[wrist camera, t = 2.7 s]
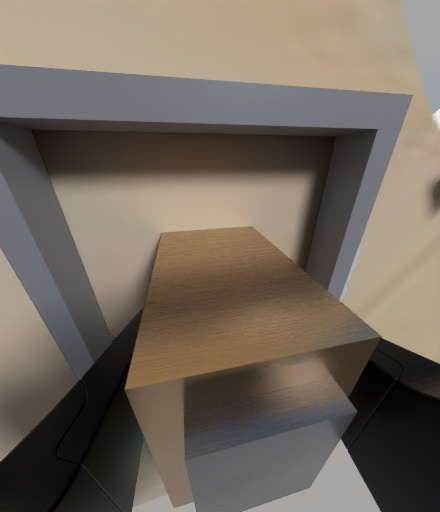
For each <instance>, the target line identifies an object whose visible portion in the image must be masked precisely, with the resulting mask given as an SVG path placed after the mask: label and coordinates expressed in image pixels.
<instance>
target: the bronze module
mask: <svg viewBox="0 0 440 512" xmlns="http://www.w3.org/2000/svg"><path fill="white" fill-rule="evenodd" d="M381 337H382V336H381V335H379V334H378V333H377V332H376V331H375V330H373V329H372V328H371V327H370V326H369V325H368V324H366V323H365V322H364V321H363V320H362V319H360V318H359V317H358V316H357V315H356V314H355V313H353V312H352V311H351V310H350V309H349V308H347V307H346V306H345V305H344V304H343V303H342V302H340V301H339V300H338V299H337V298H336V297H335V296H333V295H332V294H331V293H330V292H329V291H327V290H326V289H325V288H324V287H323V286H322V285H320V284H319V283H318V282H317V281H316V280H314V279H313V278H312V277H311V276H310V275H309V274H307V273H306V272H305V271H304V270H303V269H301V268H300V267H299V266H298V265H297V264H296V263H294V262H293V261H292V260H291V259H290V258H288V257H287V256H286V255H285V254H284V253H283V252H281V251H280V250H279V249H278V248H277V247H275V246H274V245H273V244H272V243H271V242H270V241H268V240H267V239H266V238H265V237H264V236H262V235H261V234H260V233H259V232H258V231H257V230H255V229H254V228H253V227H252V226H249V227H235V228H221V229H207V230H193V231H179V232H165V233H162V234H161V238H160V242H159V247H158V251H157V255H156V259H155V263H154V268H153V272H152V276H151V280H150V285H149V289H148V293H147V297H146V301H145V306H144V310H143V314H142V318H141V322H140V327H139V331H138V335H137V339H136V344H135V348H134V352H133V356H132V360H131V365H130V369H129V373H128V377H127V381H126V386H125V392H126V395H127V397H128V399H129V402H130V404H131V407H132V409H133V411H134V414H135V416H136V419H137V421H138V423H139V426H140V428H141V431H142V433H143V435H144V438H145V440H146V443H147V445H148V447H149V450H150V452H151V455H152V457H153V459H154V462H155V464H156V467H157V469H158V471H159V474H160V476H161V479H162V481H163V483H164V486H165V488H166V491H167V493H168V495H169V498H170V500H171V503H172V505H173V507H174V508H175V507H179V506H182V505H185V504H188V503H191V502H195V507H196V512H242V511H244V510H248V509H250V508H253V507H256V506H259V505H262V504H264V503H267V502H270V501H273V500H276V499H279V498H282V497H285V496H288V495H290V494H293V493H296V492H299V491H302V490H305V489H307V488H310V487H311V485H312V483H313V482H314V480H315V479H316V477H317V475H318V474H319V472H320V471H321V469H322V468H323V466H324V464H325V463H326V461H327V460H328V458H329V456H330V455H331V453H332V452H333V450H334V448H335V447H336V445H337V443H338V442H339V440H340V439H341V437H342V436H343V434H344V433H345V431H346V429H347V428H348V426H349V425H350V423H351V421H352V420H353V418H354V417H355V415H356V413H357V412H358V411H357V410H356V409H355V407H354V406H353V404H352V403H351V402H350V400H349V399H348V397H349V395H350V393H351V392H352V390H353V388H354V386H355V384H356V383H357V381H358V379H359V377H360V375H361V373H362V372H363V370H364V368H365V366H366V364H367V362H368V361H369V359H370V357H371V355H372V353H373V352H374V350H375V348H376V346H377V344H378V342H379V341H380V339H381Z"/></svg>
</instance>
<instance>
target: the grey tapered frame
mask: <svg viewBox="0 0 440 512" xmlns="http://www.w3.org/2000/svg"><path fill="white" fill-rule="evenodd" d="M412 96H413V95H405V94H392V93H378V92H365V91H351V90H338V89H324V88H311V87H297V86H284V85H270V84H257V83H243V82H230V81H216V80H203V79H189V78H176V77H162V76H149V75H135V74H122V73H108V72H95V71H81V70H68V69H54V68H41V67H27V66H14V65H0V248H1V249H2V251H3V253H4V254H5V256H6V258H7V260H8V261H9V263H10V265H11V266H12V268H13V270H14V271H15V273H16V275H17V277H18V278H19V280H20V282H21V283H22V285H23V287H24V289H25V290H26V292H27V294H28V295H29V297H30V299H31V300H32V302H33V304H34V306H35V307H36V309H37V311H38V312H39V314H40V316H41V318H42V319H43V321H44V323H45V324H46V326H47V328H48V329H49V331H50V333H51V335H52V336H53V338H54V340H55V341H56V343H57V345H58V347H59V348H60V350H61V352H62V353H63V355H64V357H65V359H66V360H67V362H68V364H69V365H70V367H71V369H72V370H73V372H74V374H75V376H76V377H77V379H78V381H79V380H80V379H81V378H82V376H83V375H84V374H85V373H86V372H87V371H88V369H89V368H90V367H91V366H92V365H93V364H94V363H95V362H96V360H97V359H98V358H99V357H100V356H101V355H102V354H103V352H104V351H105V350H106V349H107V348H108V347H109V346H110V344H111V343H112V342H113V341H112V339H111V336H110V334H109V331H108V328H107V326H106V323H105V321H104V318H103V316H102V313H101V310H100V308H99V305H98V303H97V300H96V297H95V295H94V292H93V290H92V287H91V284H90V282H89V279H88V277H87V274H86V271H85V269H84V266H83V264H82V261H81V259H80V256H79V253H78V251H77V248H76V246H75V243H74V240H73V238H72V235H71V233H70V230H69V227H68V225H67V222H66V220H65V217H64V215H63V212H62V209H61V207H60V204H59V202H58V199H57V196H56V194H55V191H54V189H53V186H52V183H51V181H50V178H49V176H48V173H47V170H46V168H45V165H44V163H43V160H42V158H41V155H40V152H39V150H38V147H37V145H36V142H35V139H34V137H33V134H32V132H31V130H75V131H120V132H164V133H209V134H254V135H298V136H336V140H335V144H334V149H333V153H332V157H331V162H330V166H329V170H328V174H327V179H326V183H325V187H324V192H323V196H322V200H321V205H320V209H319V213H318V218H317V222H316V226H315V230H314V235H313V239H312V243H311V248H310V252H309V256H308V261H307V265H306V269H305V272H306V273H307V274H309V275H310V276H311V277H312V278H313V279H314V280H316V281H317V282H318V283H319V284H320V285H322V286H323V287H324V288H325V289H326V290H327V291H329V292H330V293H331V294H332V295H333V296H335V297H336V298H337V299H338V300H339V301H340V302H342V301H343V298H344V295H345V292H346V290H347V287H348V284H349V282H350V279H351V276H352V273H353V271H354V268H355V265H356V263H357V260H358V257H359V254H360V252H361V249H362V248H360V247H359V244H360V241H361V239H362V236H363V233H364V230H365V227H366V225H367V222H368V219H369V216H370V213H371V211H372V208H373V205H374V202H375V199H376V197H377V194H378V191H379V188H380V185H381V183H382V180H383V177H384V174H385V172H386V169H387V166H388V163H389V160H390V158H391V155H392V152H393V149H394V146H395V144H396V141H397V138H398V135H399V132H400V130H401V127H402V124H403V121H404V118H405V116H406V113H407V110H408V107H409V104H410V102H411V99H412ZM81 380H82V379H81Z"/></svg>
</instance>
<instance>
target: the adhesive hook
mask: <svg viewBox="0 0 440 512" xmlns="http://www.w3.org/2000/svg"><path fill="white" fill-rule="evenodd" d="M433 117H434V118H435V119H436V121H437V124H438V126H439V127H440V109H439V110H438V111H436V112H435V113H434V114H433ZM439 200H440V197H439Z"/></svg>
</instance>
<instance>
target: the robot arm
mask: <svg viewBox="0 0 440 512" xmlns="http://www.w3.org/2000/svg"><path fill="white" fill-rule="evenodd" d="M143 310H144V307H143V308H142V309H141V310H140V312H139V313H138V314H137V315H136V316H135V317H134V318H133V320H132V321H131V322H130V323H129V324H128V325H127V326H126V327H125V329H124V330H123V331H122V332H121V333H120V334H119V335H118V337H117V338H116V339H115V340H114V341H113V342H112V343H111V344H110V346H109V347H108V348H107V349H106V350H105V351H104V352H103V354H102V355H101V356H100V357H99V358H98V359H97V360H96V362H95V363H94V364H93V365H92V366H91V367H90V368H89V369H88V371H87V372H86V373H85V374H84V375H83V376H82V378H81V379H82V380H81V379H80V380H79V381H78V382H77V383H76V384H75V385H74V386H73V387H72V389H71V390H70V391H69V392H68V393H67V394H66V395H65V396H64V397H63V398H62V400H61V401H60V402H59V403H58V404H57V405H56V406H55V407H54V408H53V409H52V410H51V411H50V412H49V414H48V415H47V416H46V417H45V418H44V419H43V420H42V421H41V422H40V423H39V424H38V425H37V426H36V427H35V428H34V429H33V430H32V431H31V432H30V433H29V434H28V435H27V436H26V437H25V438H24V439H23V440H22V441H21V442H20V443H19V444H18V445H17V446H16V447H15V448H14V449H13V450H12V451H11V452H10V453H9V454H8V455H7V456H6V457H5V458H4V459H3V460H2V461H1V462H0V512H132V506H133V500H134V494H135V487H136V481H137V475H138V468H139V462H140V456H141V449H142V443H143V437H144V435H143V433H142V431H141V428H140V426H139V423H138V421H137V419H136V416H135V414H134V411H133V409H132V407H131V404H130V402H129V399H128V397H127V395H126V392H125V386H126V381H127V377H128V373H129V369H130V365H131V360H132V356H133V352H134V348H135V344H136V339H137V335H138V331H139V327H140V322H141V318H142V314H143ZM348 399H349V400H350V402H351V403H352V404H353V406H354V407H355V409H356V410H357V411H358V412H357V413H356V415H355V417H354V418H353V420H352V421H351V423H350V425H349V426H348V428H347V429H346V431H345V433H344V434H343V436H342V437H341V440H342V441H343V443H344V445H345V447H346V448H347V449H348V452H349V454H350V456H351V458H352V460H353V461H354V463H355V465H356V467H357V469H358V471H359V472H360V474H361V476H362V478H363V480H364V482H365V483H366V485H367V487H368V489H369V491H370V492H371V494H372V496H373V498H374V500H375V501H376V503H377V505H378V507H379V509H380V511H381V512H440V364H439V363H436V362H434V361H432V360H430V359H427V358H425V357H423V356H421V355H418V354H416V353H414V352H411V351H409V350H407V349H405V348H402V347H400V346H398V345H396V344H394V343H391V342H389V341H387V340H385V339H383V338H381V339H380V341H379V342H378V344H377V346H376V348H375V350H374V352H373V353H372V355H371V357H370V359H369V361H368V362H367V364H366V366H365V368H364V370H363V372H362V373H361V375H360V377H359V379H358V381H357V383H356V384H355V386H354V388H353V390H352V392H351V393H350V395H349V397H348Z"/></svg>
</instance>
